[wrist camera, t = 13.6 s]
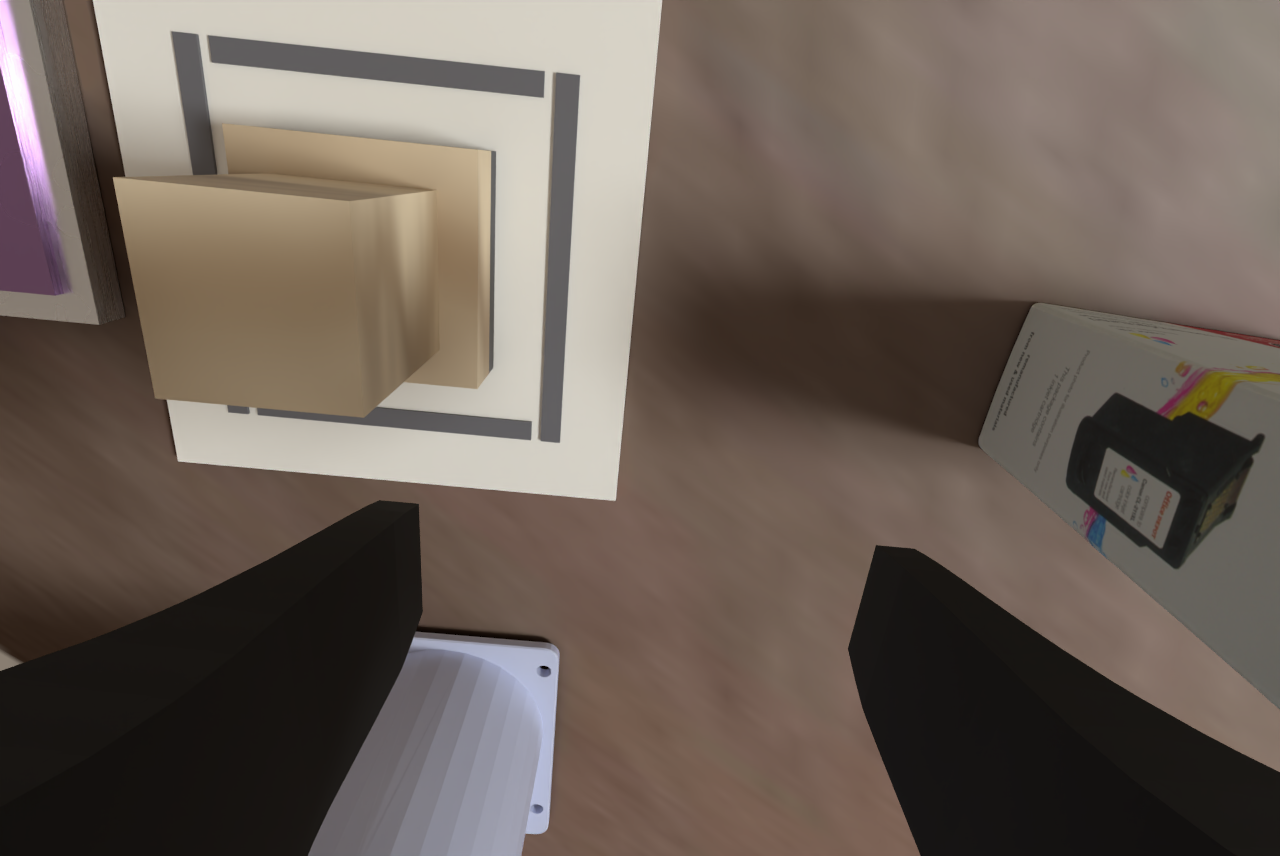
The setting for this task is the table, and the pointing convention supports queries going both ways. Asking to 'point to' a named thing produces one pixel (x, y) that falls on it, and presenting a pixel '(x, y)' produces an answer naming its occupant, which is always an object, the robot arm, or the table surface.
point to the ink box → (1157, 463)
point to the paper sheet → (447, 116)
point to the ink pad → (49, 178)
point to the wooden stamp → (315, 271)
